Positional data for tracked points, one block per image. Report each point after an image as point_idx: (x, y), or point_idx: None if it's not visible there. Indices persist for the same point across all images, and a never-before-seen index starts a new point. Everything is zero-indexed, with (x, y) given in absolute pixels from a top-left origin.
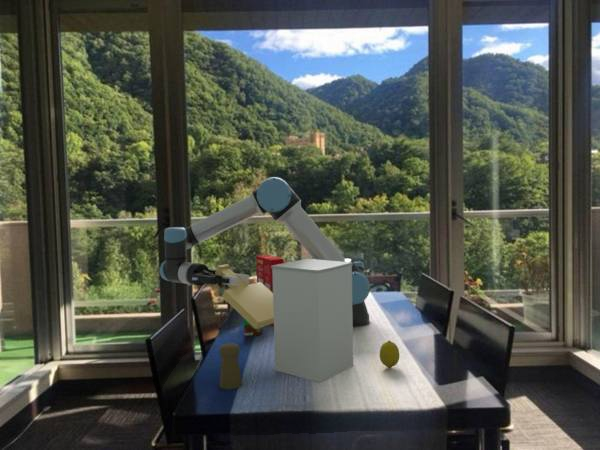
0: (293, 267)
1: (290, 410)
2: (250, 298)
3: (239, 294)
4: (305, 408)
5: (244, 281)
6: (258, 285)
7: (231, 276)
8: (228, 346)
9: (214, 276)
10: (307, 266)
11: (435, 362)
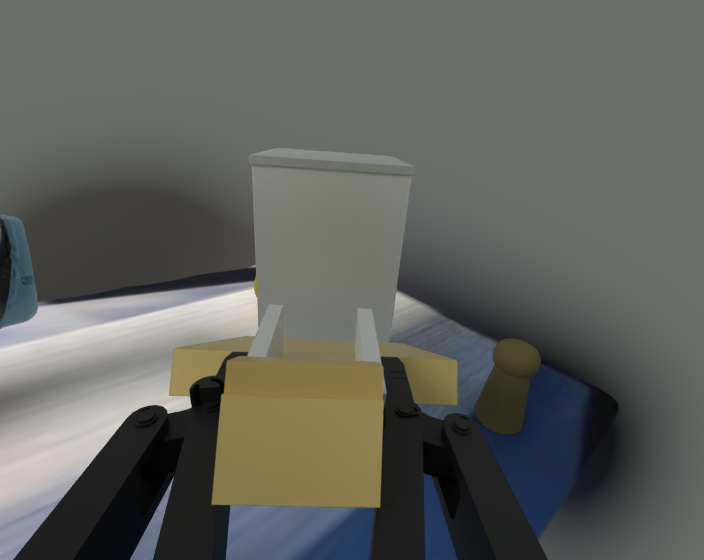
0: (396, 160)
1: (462, 326)
2: (351, 348)
3: (388, 352)
4: (445, 319)
5: (280, 352)
6: (221, 348)
7: (365, 337)
8: (525, 342)
9: (460, 418)
10: (367, 157)
11: (221, 284)
